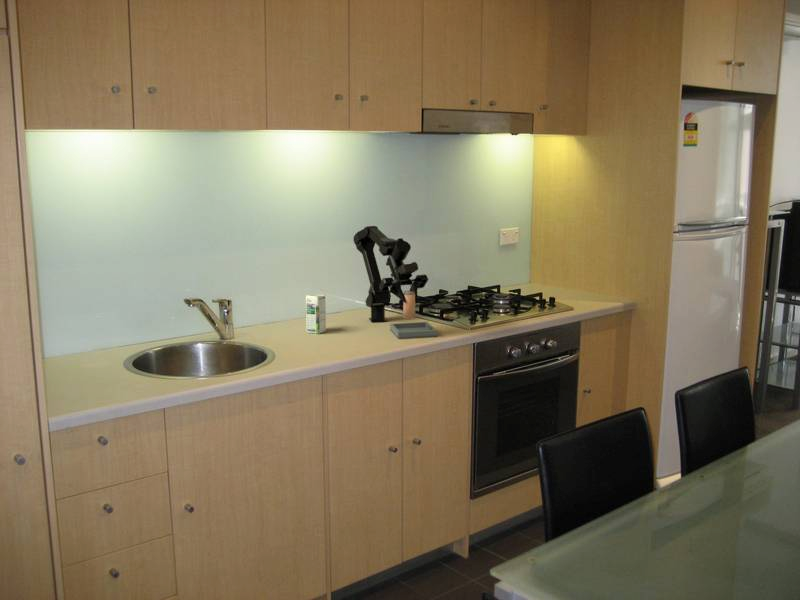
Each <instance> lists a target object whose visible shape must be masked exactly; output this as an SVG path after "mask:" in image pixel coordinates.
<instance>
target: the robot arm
mask: <svg viewBox="0 0 800 600" xmlns="http://www.w3.org/2000/svg"><path fill="white" fill-rule="evenodd" d="M353 243H354V245H355V247H356V249H357V251H358V252H359V253H361V254H362V258H363V262H364V266H365V269H366V273H367V276H368V281H369V283H370V286H369V289H368V292H367V293H368V295H367V297H366V300H365V306H366V307H369V308H370V317H369V318H368V320H369V321H370V322H371V323H379V322H380V323H381V322H388V320H387V319H386V311H385V310H386V307H388V306H389V307H390V303H391V299H392V298H391V297H392V295H391V294H393V295H394V296H396V298H398V299H399V300H401V301H402V303H403V302H404V303H405V302H406V299H405V296H404V291H403V289H402V287H403V286H409V287H410V288H409V291H414V292H415V302H417V301H418V289H423V288H425V287H426V286H427V285H426V284H427V283H428V281H429V277H428V276H427V274H424V273H423V274H417V275H416V276H415V277H414V278H412V277H413V273H415V272H417V271H418V270H419V265H418V263H417V262H416V261H415V262H414V261H412V262H411V263H404V260H406V259H407V256H408V255H409V253H410V250H412V249H411V248H412V247H411V244H410V243H409V242H408V241H406V240H404V239H403V238H399V237H398V238H397V240H396V239H395V238H390V237H388V236H387V235H386V234H384V233H383V232H382V231H381V230H380V229H379V227H378V226H376V225H367V226H364V227H363V229H361V230H359V231H357V232H356V233H354V236H353ZM375 246H378V251H379V253H380V255H382V256H383V257H387V256H388V257H387V259H386V262H385V265H386V266H388V267H389V269H390V272H391V274H390V276H389V277H383V278H382V277H381V274H380V271H379V266H378V263H377V259H376V255H375V252H374V248H375Z"/></svg>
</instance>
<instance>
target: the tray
mask: <svg viewBox="0 0 800 600" xmlns="http://www.w3.org/2000/svg"><path fill="white" fill-rule="evenodd" d="M389 331H390V332H391V333H392V334H393V335H394V336H395V337H396V338H397V339H398V340H405V339H406V340H407V339H421V338H422V339H423V338H436V337H438V330H437V329H436V328H435V327H434V326H433V325H432V324H431V323H429V322H428V321H417V322H414V321H413V322H400V323H398V322H396V323H390V324H389Z"/></svg>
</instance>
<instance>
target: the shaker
mask: <svg viewBox="0 0 800 600" xmlns="http://www.w3.org/2000/svg"><path fill="white" fill-rule="evenodd" d="M403 294H404V296H405V299H406V302H405V303H404V302H403V301H402V303H403V305H402V306H403V307H402V309H403V310H402V312H403V314H402V315H403V317H402V318H403V319H406V320H413V319H414V320H415V319H416V301H415V292H414V291H410V290H405V291H403Z"/></svg>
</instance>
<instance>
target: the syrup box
mask: <svg viewBox="0 0 800 600" xmlns="http://www.w3.org/2000/svg"><path fill="white" fill-rule="evenodd" d="M326 308H327V307H326V295H323V294H307V295H306V296H305V313H306V314H305V315H306V316H305V318H306V320H305V321H306V328H305V329H306V334H308V333H309V334H316V335H320V334H323V333H325V332H326V331H327V318H326V317H327V316H326V315H327V313H326V312H327V311H326Z"/></svg>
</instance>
